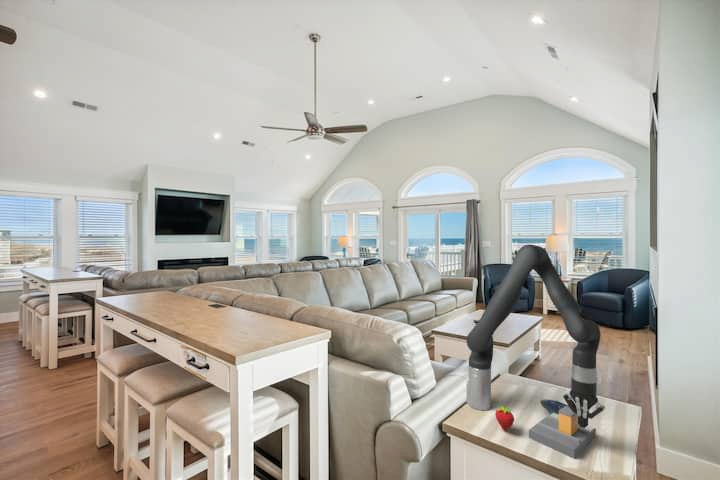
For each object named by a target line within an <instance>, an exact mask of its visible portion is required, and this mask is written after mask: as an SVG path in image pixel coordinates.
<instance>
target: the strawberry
mask: <svg viewBox="0 0 720 480" xmlns="http://www.w3.org/2000/svg"><path fill="white" fill-rule="evenodd" d="M495 418H496V421H497V422H498V424H499V426H500V427H501V429H502V430H503V431H504V432H506V431H508V430H509V429H510V428H511V427H512V426H513V424H514V422H515V416H514V414H513V413H512V411H511V410H510V408H509V407H504V405H503V404H502V405H501V406H500V408H497V409H496V411H495Z"/></svg>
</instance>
